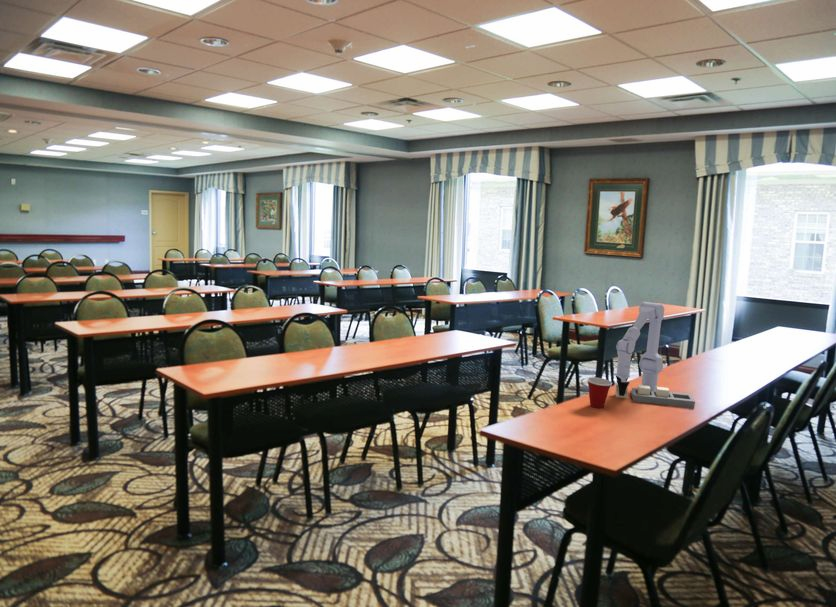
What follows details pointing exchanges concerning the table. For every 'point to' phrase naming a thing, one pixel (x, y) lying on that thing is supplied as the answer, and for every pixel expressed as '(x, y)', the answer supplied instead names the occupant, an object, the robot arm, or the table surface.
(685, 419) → the table surface
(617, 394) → the loose block
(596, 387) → the plastic cup
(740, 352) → the table surface
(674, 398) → the puzzle board
